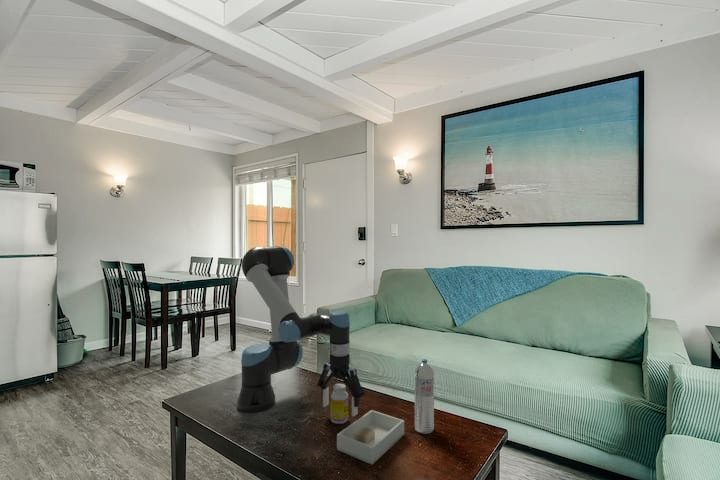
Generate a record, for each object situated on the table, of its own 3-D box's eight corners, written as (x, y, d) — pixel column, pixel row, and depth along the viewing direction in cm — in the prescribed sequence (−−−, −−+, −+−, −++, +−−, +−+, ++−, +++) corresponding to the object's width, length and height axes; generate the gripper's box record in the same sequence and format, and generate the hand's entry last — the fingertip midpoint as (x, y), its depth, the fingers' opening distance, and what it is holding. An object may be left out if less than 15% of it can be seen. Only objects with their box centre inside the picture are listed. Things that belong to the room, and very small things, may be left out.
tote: (336, 449, 119) (336, 434, 119) (371, 423, 136) (371, 409, 136) (372, 464, 112) (372, 448, 112) (404, 434, 129) (404, 420, 129)
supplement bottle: (345, 425, 135) (345, 390, 135) (328, 423, 136) (328, 388, 136) (349, 416, 141) (350, 383, 141) (333, 414, 143) (333, 381, 143)
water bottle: (435, 426, 134) (435, 358, 134) (432, 436, 128) (432, 364, 128) (416, 423, 137) (416, 355, 136) (412, 432, 130) (413, 361, 130)
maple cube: (353, 448, 119) (353, 432, 119) (362, 441, 123) (362, 426, 123) (366, 453, 116) (366, 437, 116) (374, 446, 120) (374, 430, 120)
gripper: (308, 350, 142) (308, 405, 143) (361, 362, 128) (361, 423, 128) (320, 345, 149) (321, 398, 149) (373, 356, 135) (373, 415, 135)
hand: (339, 410), depth 139 cm, fingers open, 13 cm apart
